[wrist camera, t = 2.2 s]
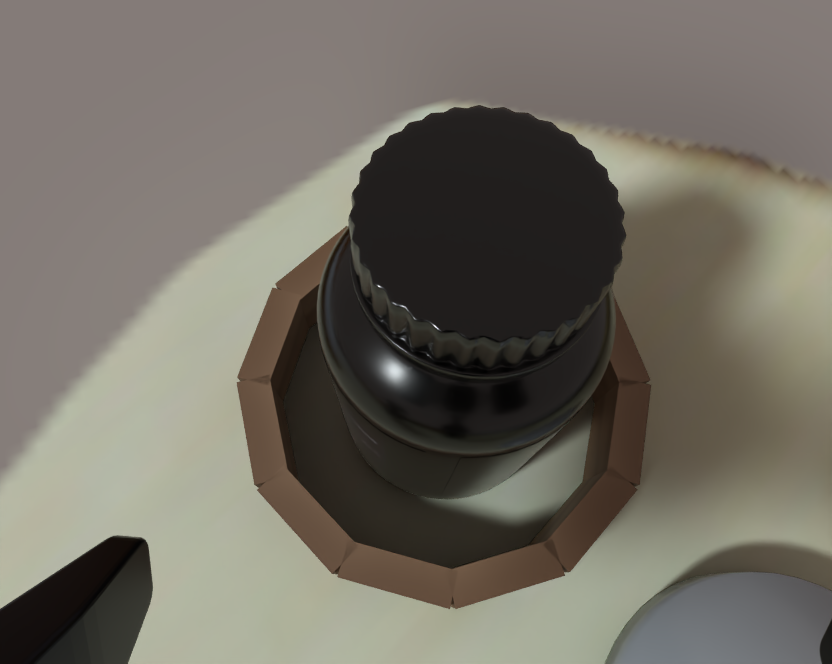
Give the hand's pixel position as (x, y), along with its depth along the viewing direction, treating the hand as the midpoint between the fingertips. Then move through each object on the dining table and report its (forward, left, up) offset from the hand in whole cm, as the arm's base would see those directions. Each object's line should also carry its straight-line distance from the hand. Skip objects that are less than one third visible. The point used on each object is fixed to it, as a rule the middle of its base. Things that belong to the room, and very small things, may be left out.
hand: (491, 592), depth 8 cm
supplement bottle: (+4, -5, -12) cm, 14 cm away
